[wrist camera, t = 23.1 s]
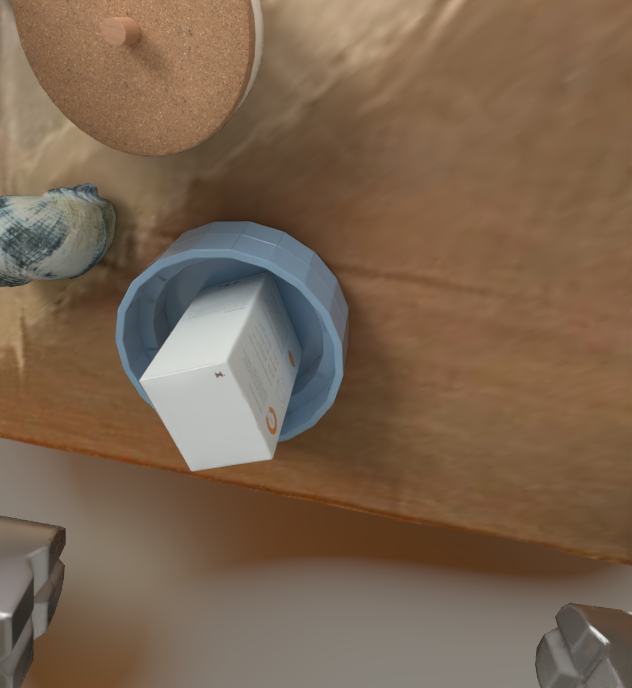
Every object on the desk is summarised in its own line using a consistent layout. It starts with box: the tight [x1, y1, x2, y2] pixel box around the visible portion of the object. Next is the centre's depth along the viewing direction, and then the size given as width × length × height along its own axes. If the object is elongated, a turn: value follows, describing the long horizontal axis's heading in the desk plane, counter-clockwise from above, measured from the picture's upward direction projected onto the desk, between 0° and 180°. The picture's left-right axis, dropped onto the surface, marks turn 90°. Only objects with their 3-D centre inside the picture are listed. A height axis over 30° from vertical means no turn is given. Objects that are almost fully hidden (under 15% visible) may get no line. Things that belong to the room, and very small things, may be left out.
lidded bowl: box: [13, 0, 264, 156], centre depth 31 cm, size 13×13×11 cm
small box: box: [139, 271, 303, 471], centre depth 41 cm, size 8×6×13 cm
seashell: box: [0, 183, 117, 287], centre depth 42 cm, size 6×8×12 cm
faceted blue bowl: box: [116, 221, 349, 442], centre depth 44 cm, size 17×17×6 cm
